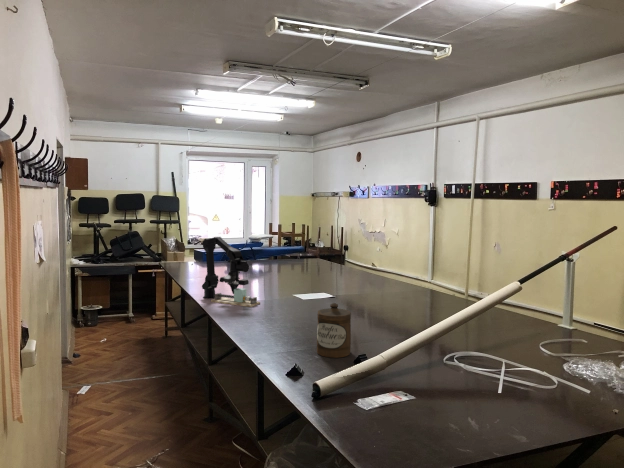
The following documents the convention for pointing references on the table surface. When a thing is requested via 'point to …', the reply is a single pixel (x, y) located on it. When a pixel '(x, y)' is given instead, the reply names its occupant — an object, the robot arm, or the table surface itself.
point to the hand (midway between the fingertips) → (233, 294)
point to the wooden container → (334, 332)
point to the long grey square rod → (233, 297)
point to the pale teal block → (239, 294)
